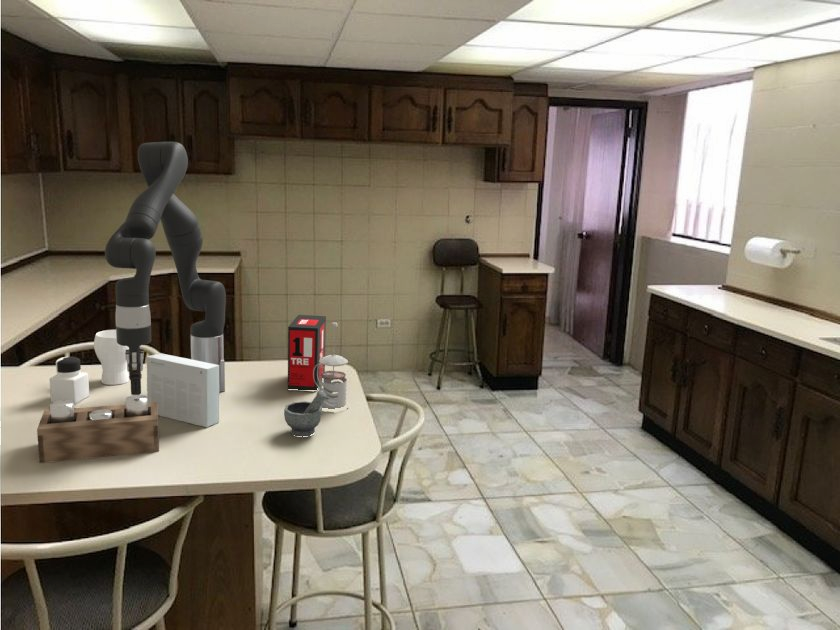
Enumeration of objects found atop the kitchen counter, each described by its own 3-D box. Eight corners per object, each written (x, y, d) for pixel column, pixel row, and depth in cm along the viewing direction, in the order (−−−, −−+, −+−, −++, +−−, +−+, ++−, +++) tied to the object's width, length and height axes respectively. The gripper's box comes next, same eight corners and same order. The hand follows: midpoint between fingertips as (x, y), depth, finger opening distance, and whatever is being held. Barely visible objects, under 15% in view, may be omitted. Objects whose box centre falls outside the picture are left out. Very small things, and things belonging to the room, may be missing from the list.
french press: (334, 415, 190) (337, 328, 184) (303, 405, 196) (304, 321, 190) (356, 405, 198) (359, 322, 192) (325, 397, 204) (327, 315, 198)
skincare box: (221, 421, 181) (220, 364, 178) (207, 428, 176) (205, 369, 173) (161, 406, 190) (159, 351, 186) (146, 412, 185) (144, 356, 181)
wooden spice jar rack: (158, 431, 173) (157, 402, 171) (159, 451, 162) (157, 419, 160) (46, 442, 163) (44, 410, 162) (39, 463, 152) (36, 429, 151)
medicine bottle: (89, 396, 195) (87, 355, 192) (75, 404, 188) (72, 363, 185) (66, 394, 195) (63, 353, 193) (50, 402, 188) (47, 361, 186)
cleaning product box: (297, 374, 224) (298, 314, 220) (324, 375, 224) (325, 316, 220) (287, 390, 208) (288, 326, 204) (316, 391, 208) (317, 328, 204)
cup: (109, 374, 214) (106, 328, 211) (141, 377, 213) (139, 330, 209) (88, 384, 204) (85, 336, 200) (121, 388, 202) (119, 339, 199)
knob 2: (148, 413, 167) (147, 394, 166) (148, 420, 163) (147, 400, 162) (127, 415, 165) (126, 395, 164) (126, 422, 161) (125, 402, 160)
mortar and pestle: (277, 437, 173) (277, 392, 171) (292, 424, 182) (293, 381, 180) (319, 443, 171) (320, 397, 168) (332, 429, 180) (333, 386, 177)
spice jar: (113, 428, 165) (112, 408, 164) (112, 435, 160) (111, 415, 159) (91, 430, 163) (90, 410, 162) (89, 437, 159) (88, 417, 158)
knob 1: (75, 419, 161) (74, 399, 160) (73, 426, 157) (72, 406, 156) (52, 421, 159) (51, 400, 158) (50, 428, 155) (48, 408, 154)
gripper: (150, 329, 154) (153, 402, 158) (150, 316, 166) (152, 384, 170) (114, 330, 152) (117, 404, 155) (117, 317, 164) (120, 386, 167)
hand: (136, 393), depth 163 cm, fingers closed
